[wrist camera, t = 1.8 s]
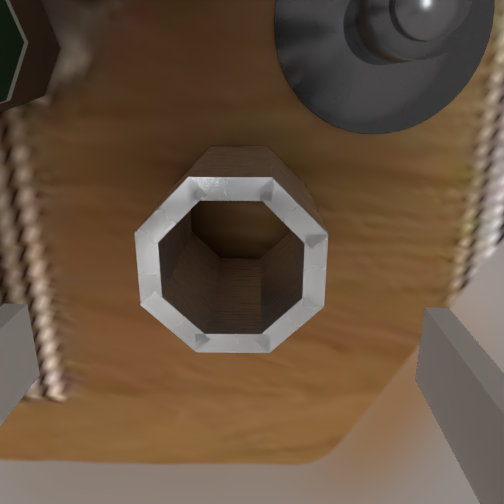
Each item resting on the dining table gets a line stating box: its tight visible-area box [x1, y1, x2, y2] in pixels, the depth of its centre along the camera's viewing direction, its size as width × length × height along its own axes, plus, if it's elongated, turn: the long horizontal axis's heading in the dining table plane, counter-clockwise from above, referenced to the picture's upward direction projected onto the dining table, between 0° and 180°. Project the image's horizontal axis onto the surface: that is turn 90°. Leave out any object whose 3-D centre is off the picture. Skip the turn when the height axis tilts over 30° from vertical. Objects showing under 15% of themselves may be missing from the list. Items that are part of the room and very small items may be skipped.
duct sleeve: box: [134, 146, 328, 353], centre depth 26 cm, size 8×8×10 cm
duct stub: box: [274, 0, 494, 134], centre depth 22 cm, size 12×12×9 cm
